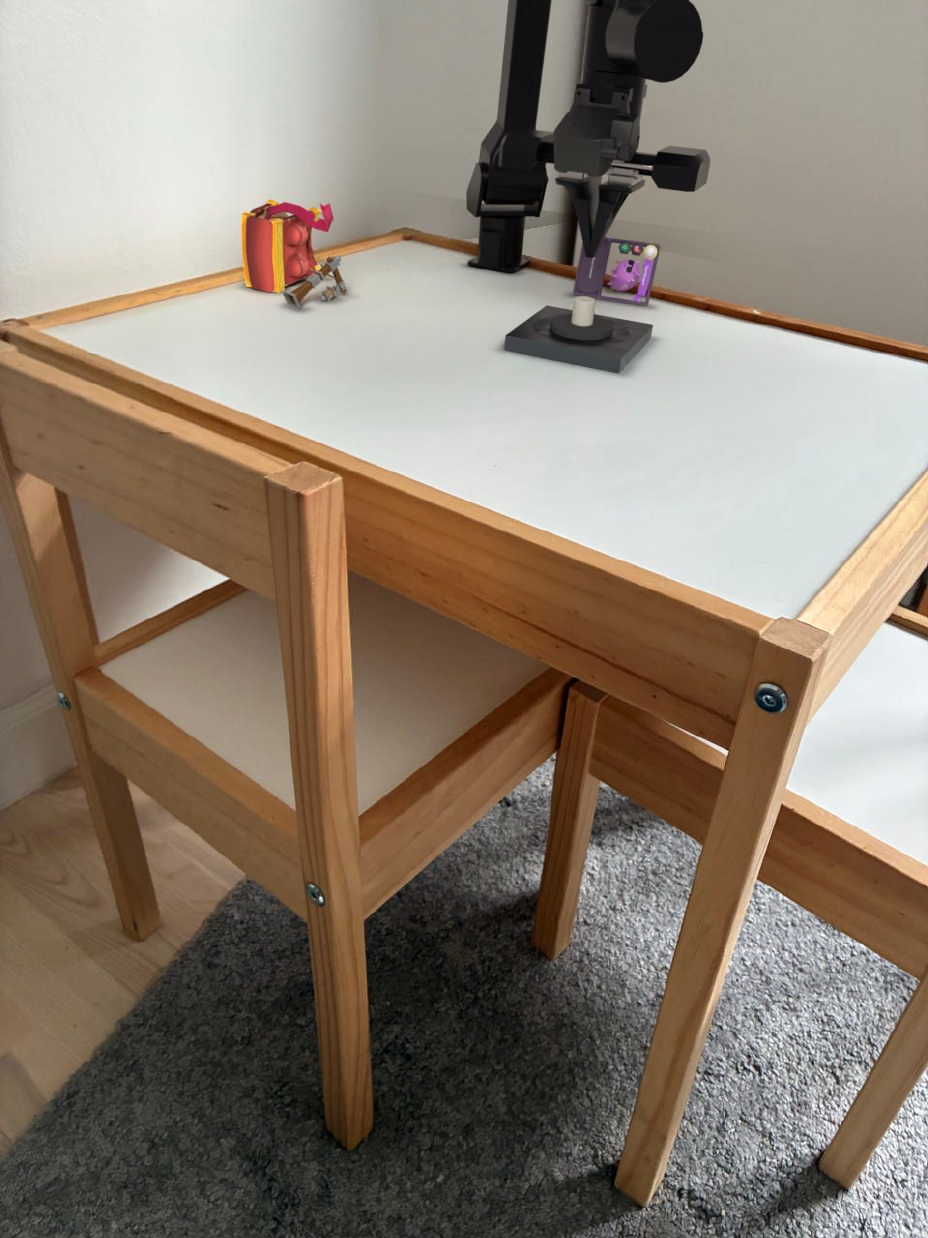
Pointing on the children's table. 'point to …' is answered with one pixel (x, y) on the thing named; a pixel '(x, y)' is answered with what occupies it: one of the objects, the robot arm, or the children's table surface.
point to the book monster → (280, 244)
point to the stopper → (582, 322)
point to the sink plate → (579, 341)
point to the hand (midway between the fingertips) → (590, 257)
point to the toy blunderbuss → (317, 283)
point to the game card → (617, 271)
